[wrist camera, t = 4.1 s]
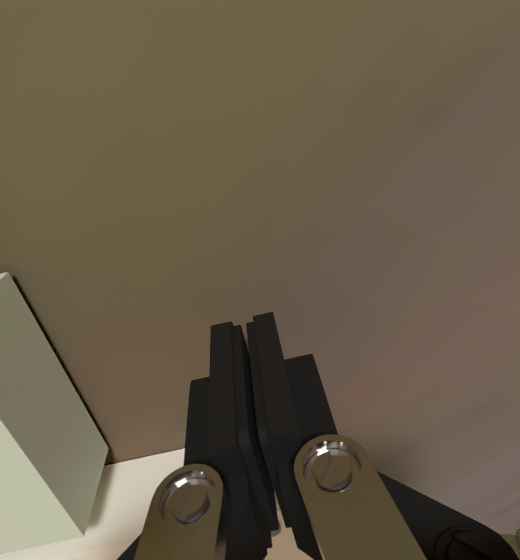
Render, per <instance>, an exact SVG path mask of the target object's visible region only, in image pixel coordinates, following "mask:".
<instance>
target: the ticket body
mask: <svg viewBox="0 0 520 560" xmlns="http://www.w3.org/2000/svg"><path fill="white" fill-rule="evenodd" d="M184 453H185V448H184V449H180V450H175V451H171V452H166V453H161V454H157V455H152V456H148V457H143V458H138V459H134V460H129V461H125V462H120V463H115V464H111V465H106V466H104V467H103V470H102V474H101V478H100V481H99V485H98V488H97V492H96V496H95V499H94V503H93V506H92V510H91V514H90V517H89V521H88V525H87V528H86V532H85V535H84V537H80V538H75V539H71V540H66V541H61V542H57V543H52V544H47V545H43V546H38V547H33V548H29V549H24V550H19V551H15V552H10V553H5V554H1V555H0V560H117V559H118V558H119V557H120V555H121V554H122V553H123V552H124V551H125V550H126V549H127V548H128V547H129V546H130V545H131V544H132V543H133V542H134V540H135V539H136V538H137V537H138V536H139V535H140V534H141V533H142V530H143V527H144V523H145V520H146V517H147V513H148V510H149V507H150V503H151V500H152V497H153V495H154V493H155V491H156V488H157V487H158V486H159V484H160V483H161V482H162V481H163V479H164V478H166V477H167V476H168V475H169V474H170V473H172V472H173V471H175V470H177V469H179V468H181V467H183V465H184ZM274 492H275V491H274ZM275 500H276V508H277V515H278V523H279V530H276V531H271V538H272V547H273V548H268V549H267V553H268V554H267V556H266V557H265V559H264V560H314V559H312V558H311V557H309V556H308V555H307V554H305V553H304V552H302V551H301V550H300V549H298V548H297V545H296V542H295V538H294V535H293V532H292V528H291V527H290V528H286V527H285V523H284V520H283V517H282V514H281V510H280V507H279V504H278V501H277V497H276V494H275Z"/></svg>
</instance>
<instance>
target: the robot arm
mask: <svg viewBox="0 0 520 560" xmlns="http://www.w3.org/2000/svg"><path fill="white" fill-rule="evenodd" d="M253 321H254V322H250V323H246V326H247V335H248V345H249V352H248V349H247V345H246V342H245V338H244V335H243V331H242V328H241V325H237V326H233V323H232V322H231V321H230V322H225V323H221V324H217V325H212V326H211V341H210V377H205V378H201V379H196V380H192V381H191V384H190V393H189V405H188V417H187V429H186V441H185V453H184V465H183V467H181V468H179V469H177V470H175V471H173V472H172V473H170V474H169V475H168V476H167V477H166V478H164V479H163V481H162V482H161V483H160V484H159V486H158V487H157V488H156V491H155V493H154V495H153V497H152V500H151V503H150V507H149V510H148V513H147V517H146V520H145V523H144V527H143V530H142V533H141V534H140V535H139V536H138V537H137V538H136V539H135V540H134V542H133V543H132V544H131V545H130V546H129V547H128V548H127V549H126V550H125V551H124V552H123V553H122V554H121V555H120V557H119V558H118V559H117V560H264V559H265V557H266V556H267V554H268V553H267V549H268V548H273V547H272V538H271V531H276V530H279V523H278V515H277V508H276V500H275V494H276V497H277V501H278V504H279V507H280V510H281V514H282V517H283V520H284V523H285V527H286V528H290V527H291V528H292V532H293V535H294V538H295V542H296V545H297V548H298V549H300V550H301V551H302V552H304V553H305V554H307V555H308V556H309V557H311V558H312V559H314V560H520V529H517V533H516V535H504V534H498V533H496V532H495V531H493V530H492V529H490V528H488V527H487V526H485V525H483V524H481V523H479V522H477V521H475V520H473V519H471V518H469V517H467V516H465V515H463V514H461V513H459V512H457V511H455V510H453V509H451V508H449V507H447V506H445V505H443V504H441V503H439V502H437V501H435V500H433V499H431V498H429V497H427V496H425V495H423V494H421V493H419V492H417V491H415V490H413V489H411V488H409V487H407V486H405V485H403V484H401V483H399V482H397V481H395V480H393V479H391V478H389V477H387V476H385V475H383V474H381V473H379V472H377V471H376V469H375V468H374V466H373V464H372V462H371V461H370V459H369V457H368V455H367V454H366V452H365V451H364V450H363V448H362V447H361V446H360V445H359V444H358V443H357V442H355V441H354V440H352V439H351V438H348V437H345V436H342V435H338V433H337V430H336V427H335V424H334V421H333V417H332V414H331V411H330V408H329V405H328V401H327V398H326V395H325V392H324V389H323V385H322V382H321V379H320V376H319V373H318V370H317V366H316V363H315V360H314V357H313V355H312V354H308V355H304V356H299V357H295V358H290V359H286V360H284V357H283V353H282V349H281V344H280V340H279V336H278V332H277V327H276V323H275V319H274V315H273V312H270V313H265V314H261V315H256V316H253ZM249 355H250V356H249ZM274 491H275V492H274Z"/></svg>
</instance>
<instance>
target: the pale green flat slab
mask: <svg viewBox="0 0 520 560" xmlns="http://www.w3.org/2000/svg"><path fill="white" fill-rule="evenodd" d="M108 449H109V448H108V447H107V445H106V443H105V441H104V440H103V438H102V436H101V434H100V433H99V431H98V429H97V427H96V426H95V424H94V422H93V420H92V418H91V417H90V415H89V413H88V411H87V410H86V408H85V406H84V404H83V403H82V401H81V399H80V397H79V396H78V394H77V392H76V390H75V389H74V387H73V385H72V383H71V381H70V380H69V378H68V376H67V374H66V373H65V371H64V369H63V367H62V366H61V364H60V362H59V360H58V359H57V357H56V355H55V353H54V352H53V350H52V348H51V346H50V344H49V343H48V341H47V339H46V337H45V336H44V334H43V332H42V330H41V329H40V327H39V325H38V323H37V322H36V320H35V318H34V316H33V315H32V313H31V311H30V309H29V307H28V306H27V304H26V302H25V300H24V299H23V297H22V295H21V293H20V292H19V290H18V288H17V286H16V285H15V283H14V281H13V279H12V278H11V276H10V274H9V272H5V273H1V274H0V555H1V554H5V553H10V552H15V551H19V550H24V549H29V548H33V547H38V546H43V545H47V544H52V543H57V542H61V541H66V540H71V539H75V538H80V537H84V535H85V532H86V528H87V525H88V521H89V517H90V514H91V510H92V506H93V503H94V499H95V496H96V492H97V488H98V485H99V481H100V478H101V474H102V470H103V467H104V463H105V459H106V456H107V452H108Z"/></svg>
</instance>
